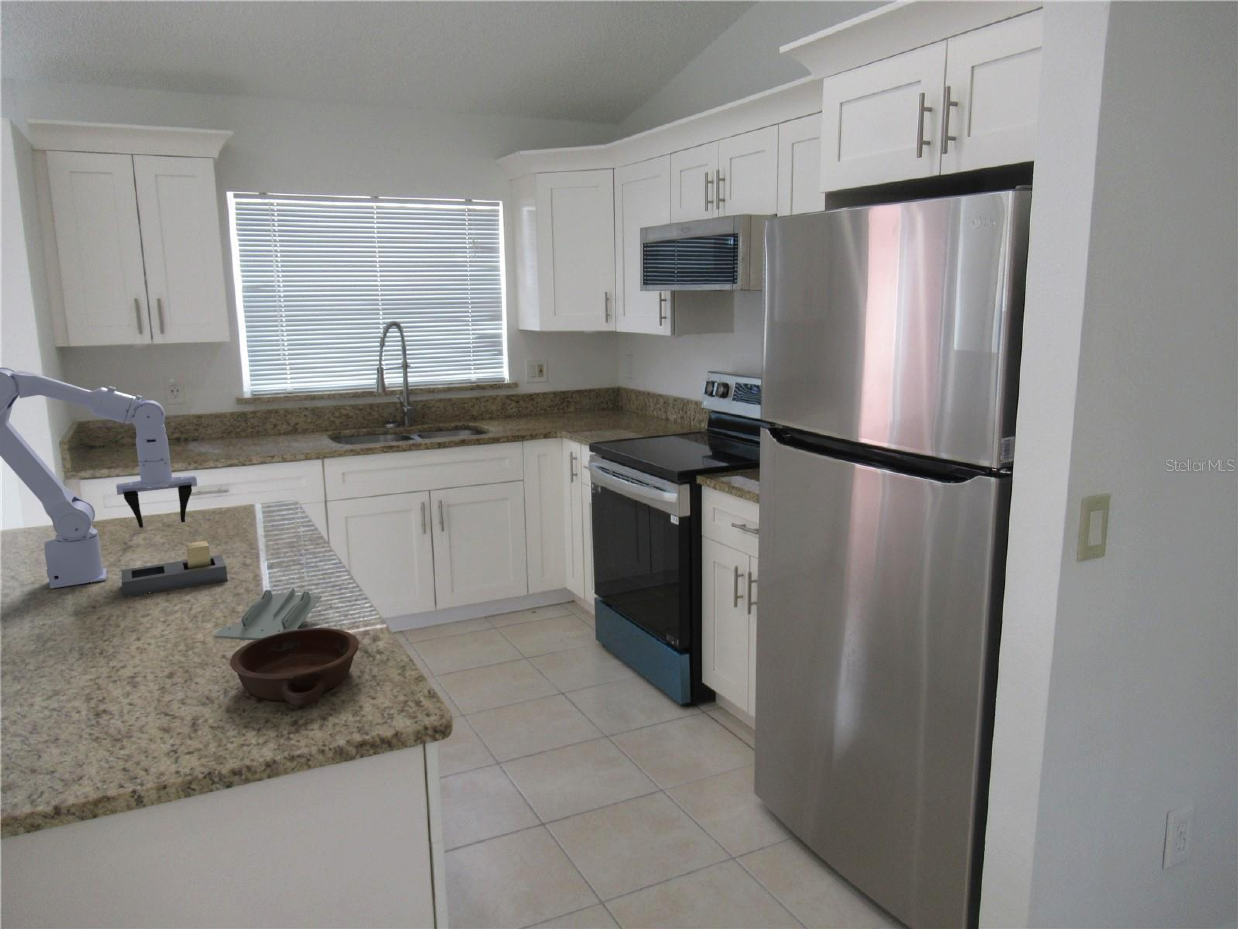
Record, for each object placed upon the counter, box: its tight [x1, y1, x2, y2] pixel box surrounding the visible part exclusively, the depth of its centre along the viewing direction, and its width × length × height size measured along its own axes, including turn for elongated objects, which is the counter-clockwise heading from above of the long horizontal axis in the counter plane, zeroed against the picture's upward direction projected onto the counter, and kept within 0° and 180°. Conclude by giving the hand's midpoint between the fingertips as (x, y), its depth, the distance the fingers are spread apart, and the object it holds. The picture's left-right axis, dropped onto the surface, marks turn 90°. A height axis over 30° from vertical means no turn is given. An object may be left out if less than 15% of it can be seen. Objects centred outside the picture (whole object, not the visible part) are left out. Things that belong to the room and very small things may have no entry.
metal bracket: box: [214, 587, 322, 641], centre depth 147 cm, size 14×6×15 cm
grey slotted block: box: [121, 554, 228, 598], centre depth 170 cm, size 18×9×3 cm, turn 120°
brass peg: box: [184, 540, 211, 570], centre depth 172 cm, size 4×4×7 cm
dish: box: [229, 627, 360, 707], centre depth 125 cm, size 18×22×5 cm
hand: (162, 524), depth 179 cm, fingers open, 7 cm apart
